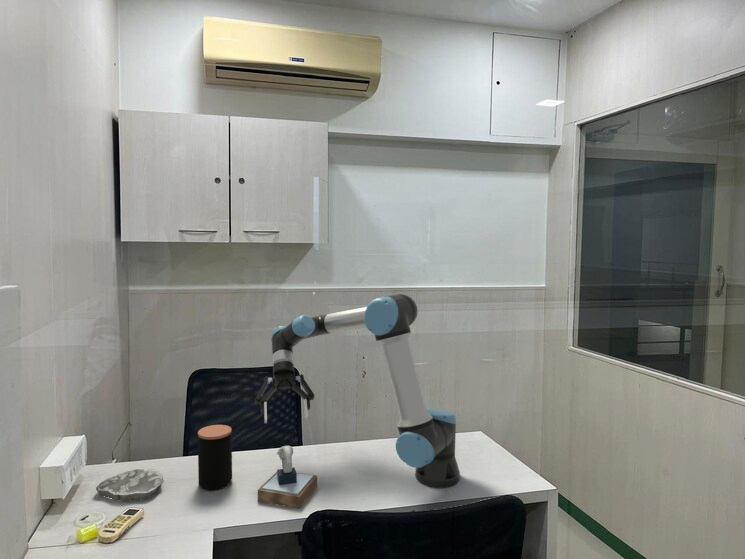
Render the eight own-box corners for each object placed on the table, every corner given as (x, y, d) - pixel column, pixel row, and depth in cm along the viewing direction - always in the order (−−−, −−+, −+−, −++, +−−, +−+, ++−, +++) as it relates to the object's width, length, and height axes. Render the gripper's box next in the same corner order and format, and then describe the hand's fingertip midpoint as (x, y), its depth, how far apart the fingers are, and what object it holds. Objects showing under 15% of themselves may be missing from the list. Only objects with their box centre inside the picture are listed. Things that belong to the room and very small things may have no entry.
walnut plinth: (317, 486, 158) (317, 474, 157) (299, 508, 144) (299, 495, 144) (278, 480, 162) (278, 468, 161) (257, 501, 148) (257, 488, 148)
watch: (293, 473, 158) (293, 441, 157) (297, 485, 150) (297, 451, 150) (276, 476, 156) (276, 443, 155) (279, 488, 148) (279, 453, 148)
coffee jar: (238, 483, 159) (237, 430, 158) (208, 495, 152) (207, 439, 150) (221, 472, 167) (221, 422, 165) (192, 483, 159) (191, 430, 158)
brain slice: (175, 478, 163) (175, 470, 162) (148, 505, 146) (148, 496, 146) (119, 476, 164) (119, 468, 164) (86, 502, 147) (86, 493, 147)
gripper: (316, 368, 181) (322, 421, 168) (248, 372, 175) (248, 427, 162) (318, 358, 176) (324, 411, 162) (248, 361, 170) (248, 417, 156)
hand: (286, 419), depth 162 cm, fingers open, 13 cm apart
